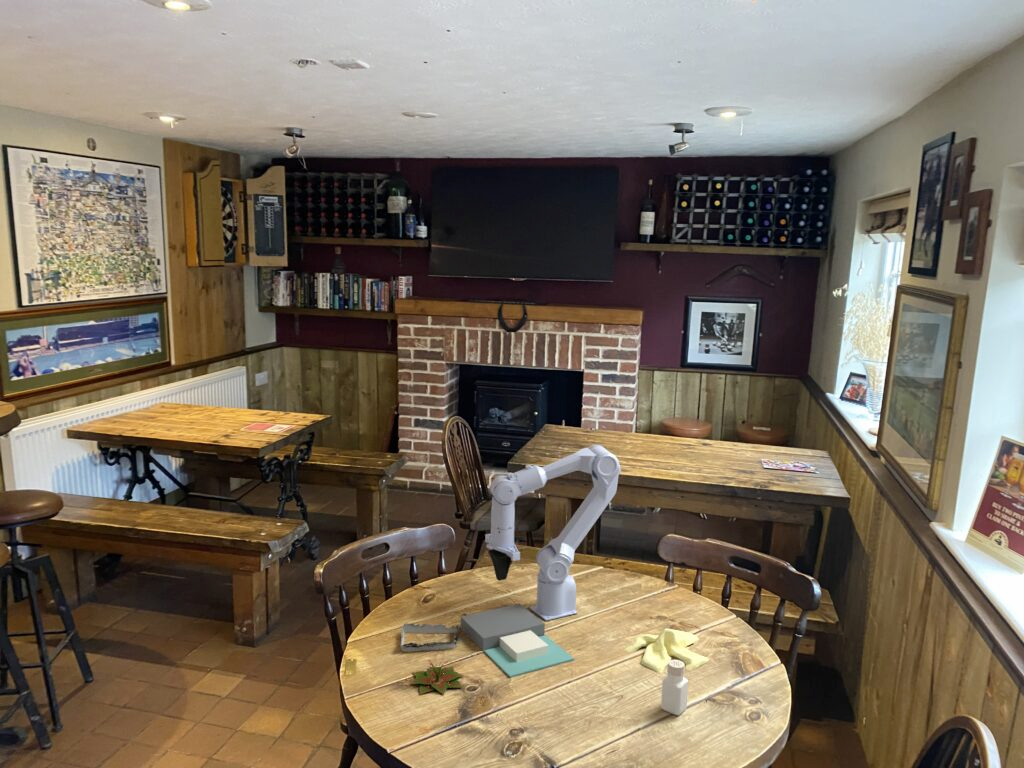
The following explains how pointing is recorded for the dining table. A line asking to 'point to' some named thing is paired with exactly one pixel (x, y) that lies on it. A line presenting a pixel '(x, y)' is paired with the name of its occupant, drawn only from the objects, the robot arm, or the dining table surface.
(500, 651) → the drip mat
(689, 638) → the cloth
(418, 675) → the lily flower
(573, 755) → the dining table surface
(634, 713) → the dining table surface
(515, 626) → the riser
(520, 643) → the coaster
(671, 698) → the pepper shaker
